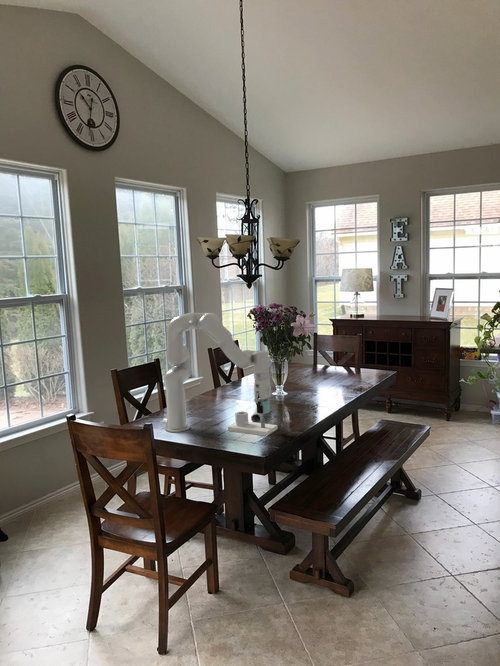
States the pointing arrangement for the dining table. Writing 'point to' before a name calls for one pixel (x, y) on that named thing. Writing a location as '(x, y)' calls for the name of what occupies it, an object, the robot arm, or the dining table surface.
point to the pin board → (254, 428)
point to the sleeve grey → (241, 418)
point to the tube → (256, 417)
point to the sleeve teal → (266, 406)
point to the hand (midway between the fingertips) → (263, 411)
